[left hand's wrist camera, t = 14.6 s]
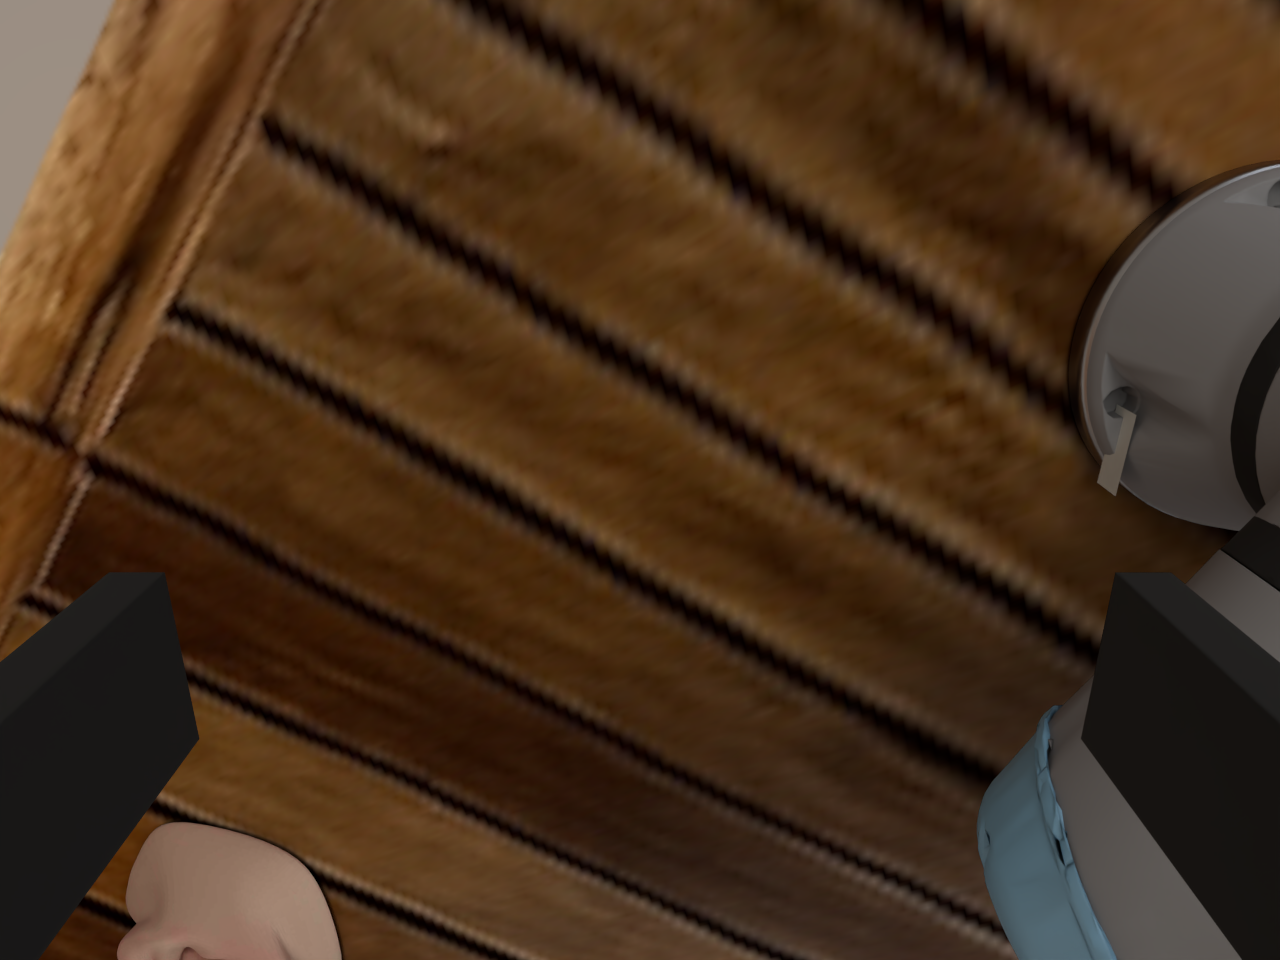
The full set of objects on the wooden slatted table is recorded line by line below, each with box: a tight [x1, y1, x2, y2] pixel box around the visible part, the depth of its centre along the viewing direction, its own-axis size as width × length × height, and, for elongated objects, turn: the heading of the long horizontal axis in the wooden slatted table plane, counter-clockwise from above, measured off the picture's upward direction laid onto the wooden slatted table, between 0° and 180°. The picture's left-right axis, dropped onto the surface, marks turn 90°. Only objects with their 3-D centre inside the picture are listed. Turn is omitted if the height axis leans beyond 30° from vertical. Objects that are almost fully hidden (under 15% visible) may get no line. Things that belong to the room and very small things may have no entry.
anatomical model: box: [117, 822, 342, 960], centre depth 48 cm, size 13×4×12 cm
